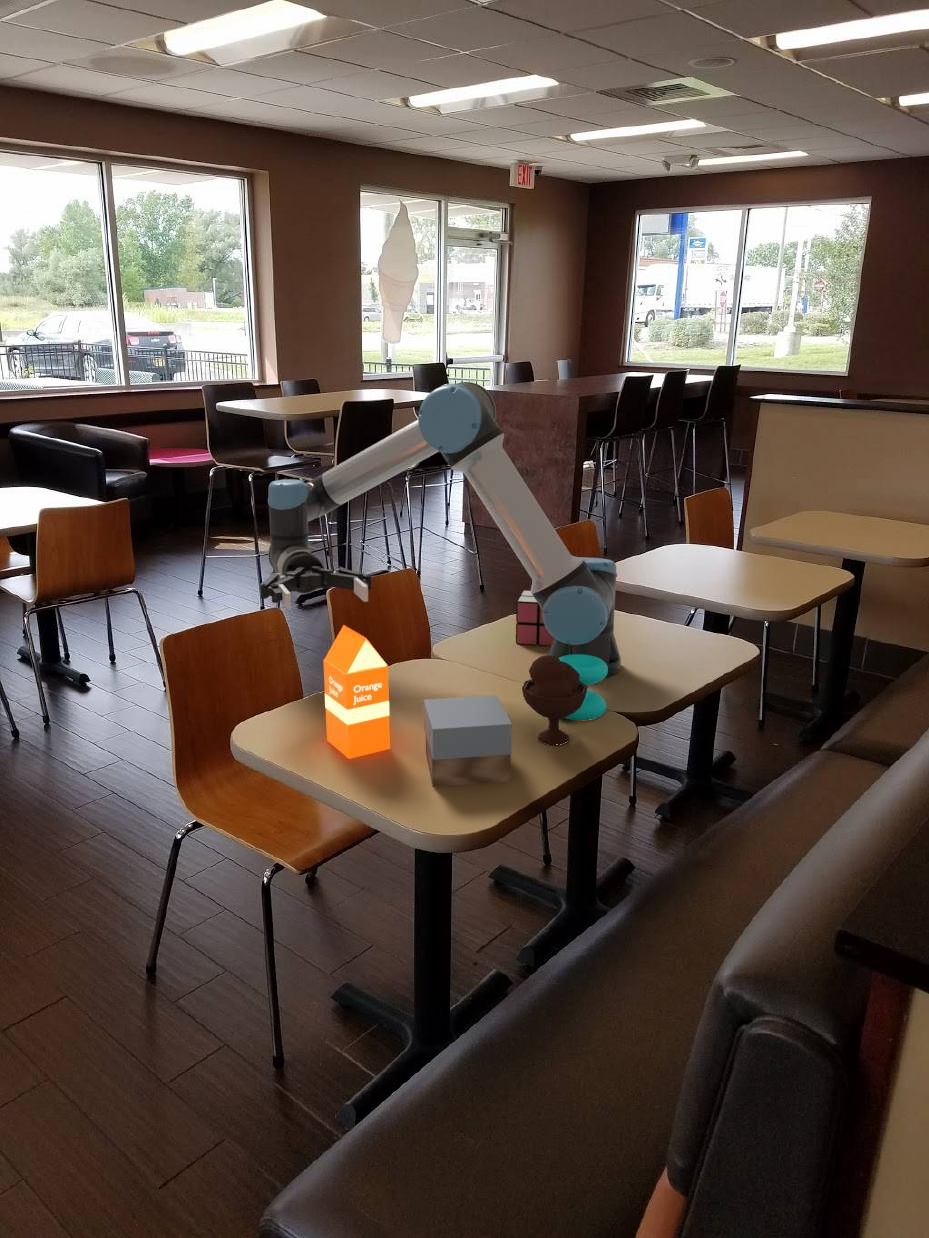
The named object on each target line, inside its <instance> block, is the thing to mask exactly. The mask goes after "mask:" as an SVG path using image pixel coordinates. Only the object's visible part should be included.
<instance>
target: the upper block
mask: <svg viewBox="0 0 929 1238" xmlns="http://www.w3.org/2000/svg"><path fill="white" fill-rule="evenodd" d="M423 729H424V734H425V733H426V735H425V738H426V737H427V740H428V744H429V747H430V750H431V754H432V757H433V760H439V759H453V758H467V757H481V756H495V755H509V754H511V755H512V748H513V747H512V744H513V740H512V735H513V733H512V732H513V731H512V730H513V723H512V722H511V719H510V717H509V716H508V714H507V712H506V710H505V708H504V706H503V705H502V703H501V701H500V699H499V697H498V695H497V694H495V695H494V694H493V695H480V696H479V695H478V696H465V697H464V696H463V697H461V696H460V697H447V698H446V697H445V698H431V699H423Z"/></svg>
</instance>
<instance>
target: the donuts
mask: <svg viewBox="0 0 929 1238" xmlns="http://www.w3.org/2000/svg"><path fill="white" fill-rule="evenodd" d="M559 659H560V661H563V662H566V663H568V664H569V665H571V666H572V667H573V668H574V669H575V670H576V671H577V672H578V673H579V679H580V681H581V682H582V683H584V684H585V685H587V686H591V685H594V684H597V683H600V682H602V681H603V680H604V679H605V678H607V677H606V675H607V673H608V667H607V665H606V663H605V662H604V661H603V660H601V659H599V658H597V657H594V656H590V655H583V654H573V655H566V656H562V657H560V658H559ZM606 711H607V703H606V700H605V699H604V697H602V696H601V695H600V694H599V693H597V692H595V691H592V690H588V689H587V692H586V696H585V699H584V701H583V703H582V705H581V707H580V708H579V709H578V710H577V711H576V712H575V713H573V714H571V715H569V716H567V717H564V718H566V719H565V720H568V719H571V720H570V721H573V720H589V719H593V720H595V719H594V718H596V719H598V717H599V718H600V717H602V716H603V715H604V714H605V712H606ZM564 718H563V719H564ZM589 721H590V720H589Z"/></svg>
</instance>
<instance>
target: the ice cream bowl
mask: <svg viewBox="0 0 929 1238" xmlns="http://www.w3.org/2000/svg"><path fill="white" fill-rule="evenodd" d="M529 667H530V668H529V669H528V672H529V678H530V679H528V680H524V681H525V682H524V684H523V685H522V687H521V690H522V696H523V698H524V701H525V702H526V704H527V705H528V706H529V707H530V708H531V709H532V710H534V712H536V713H537V714H538V715H539V716H542V717H543V718H547V719H548V729H545V730H543V731H541V732H539V734H538V737H537V739H538V740H539V741H538V740H537V741H538V742H540V741H541V742H542V743H545V744H544V745H546V744H549V745H548V746H550V745H556V744H558V745H557V746H561V745H560V744H563V743H565V742H567V741H569V742H570V739H569V738H570V735H569V734H568V733H566V731H563V730H561V729H560V720H561V719H564V717H567V716H569V715H571V714H573V713H575V712H576V711H577V710H578V709H579V708H580V707H581V705H582V703H583V701H584V699H585V696H586V692H587V690H588V687H589V685H585V684H584V683H582V682H581V681H580V679H579V673H578V672H577V671H576V670H575V669H574V668H573V667H572V666H571V665H569V664H568V663H566V662H563V661H560V659H559V658H558V657H555V656H549V655H548V654H547V655H542V656H539V657H538V658H536V659H535V660H533V661H532V663H531V665H530V666H529ZM541 742H540V743H541ZM542 743H541V744H542ZM563 745H564V744H563Z"/></svg>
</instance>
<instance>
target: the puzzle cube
mask: <svg viewBox="0 0 929 1238" xmlns="http://www.w3.org/2000/svg"><path fill="white" fill-rule="evenodd" d="M515 608H516V609H515V611H516V613H515V614H516V615H515V617H516V618H515V621H516V623H515V644H516V645H525V646H527V645H528V646H529V645H530V646H542V647H544V646H545V647H551V644H552V641H553V639H554V637H553V636H552V635H551V634H550V633H549V632H548V630H547V629H546V627H545V624H544V621H543V617H542V612H543V610H542V609H541V607H540V606H539V604H538V602H537V601H536V599H535V598H534V596H533V595H532V593H531V590H523V591H522V592H521V594H520V595H519V598H518V599H517V601H516V606H515Z"/></svg>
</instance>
